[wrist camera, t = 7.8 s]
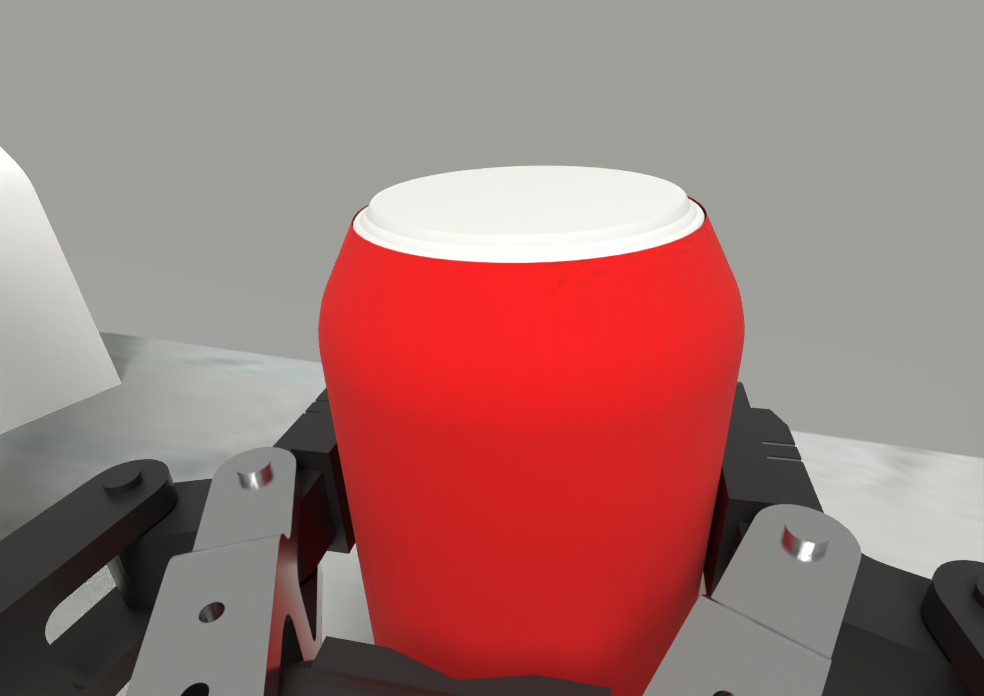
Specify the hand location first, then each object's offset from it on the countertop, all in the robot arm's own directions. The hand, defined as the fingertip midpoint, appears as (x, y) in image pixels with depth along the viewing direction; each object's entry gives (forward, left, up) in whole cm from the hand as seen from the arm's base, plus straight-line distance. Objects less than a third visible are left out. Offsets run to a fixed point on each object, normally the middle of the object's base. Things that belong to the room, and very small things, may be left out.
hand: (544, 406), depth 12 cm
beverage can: (0, -2, -7) cm, 8 cm away
